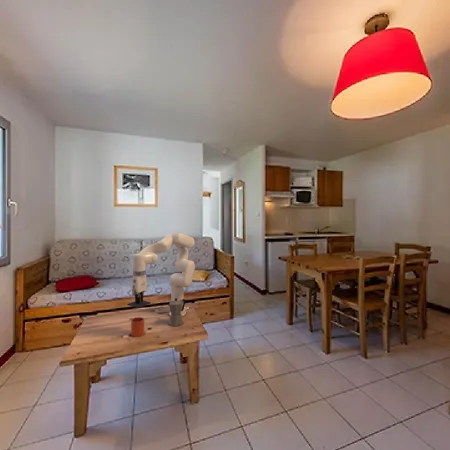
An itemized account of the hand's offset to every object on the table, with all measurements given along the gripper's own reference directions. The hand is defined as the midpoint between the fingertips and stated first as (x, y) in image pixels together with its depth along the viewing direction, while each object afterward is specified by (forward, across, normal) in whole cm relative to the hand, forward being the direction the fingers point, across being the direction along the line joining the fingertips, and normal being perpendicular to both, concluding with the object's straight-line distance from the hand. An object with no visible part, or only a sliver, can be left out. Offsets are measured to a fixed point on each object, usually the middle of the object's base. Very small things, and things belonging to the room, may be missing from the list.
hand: (139, 302), depth 154 cm
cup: (+20, 0, +1) cm, 20 cm away
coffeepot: (+20, +22, -15) cm, 34 cm away
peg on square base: (+1, 0, 0) cm, 1 cm away
